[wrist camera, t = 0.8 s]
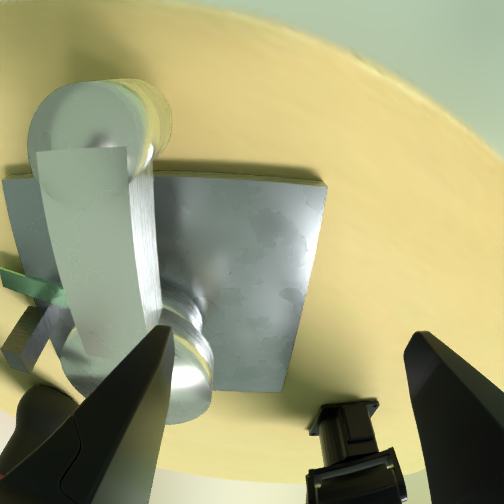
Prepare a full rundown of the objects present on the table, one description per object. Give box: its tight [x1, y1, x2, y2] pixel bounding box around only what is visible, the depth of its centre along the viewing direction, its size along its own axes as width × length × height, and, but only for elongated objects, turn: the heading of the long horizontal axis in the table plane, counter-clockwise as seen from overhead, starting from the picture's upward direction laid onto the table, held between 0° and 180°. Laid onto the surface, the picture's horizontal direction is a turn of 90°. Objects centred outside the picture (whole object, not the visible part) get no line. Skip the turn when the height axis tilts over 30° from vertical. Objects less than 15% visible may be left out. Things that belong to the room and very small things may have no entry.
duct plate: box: [0, 171, 328, 392], centre depth 18 cm, size 18×23×6 cm
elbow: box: [27, 78, 214, 425], centre depth 15 cm, size 20×9×5 cm, turn 175°
